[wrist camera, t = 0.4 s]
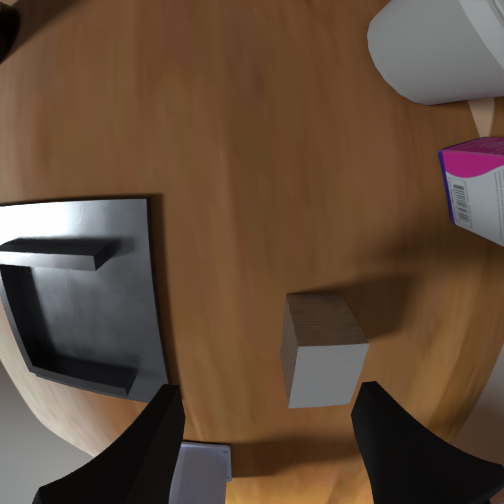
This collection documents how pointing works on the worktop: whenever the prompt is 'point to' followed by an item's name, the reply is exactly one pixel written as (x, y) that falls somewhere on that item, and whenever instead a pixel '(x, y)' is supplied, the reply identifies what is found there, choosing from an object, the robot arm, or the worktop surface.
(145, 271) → the cradle
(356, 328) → the block
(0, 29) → the supplement bottle
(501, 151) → the supplement box
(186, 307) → the worktop surface
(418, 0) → the can
